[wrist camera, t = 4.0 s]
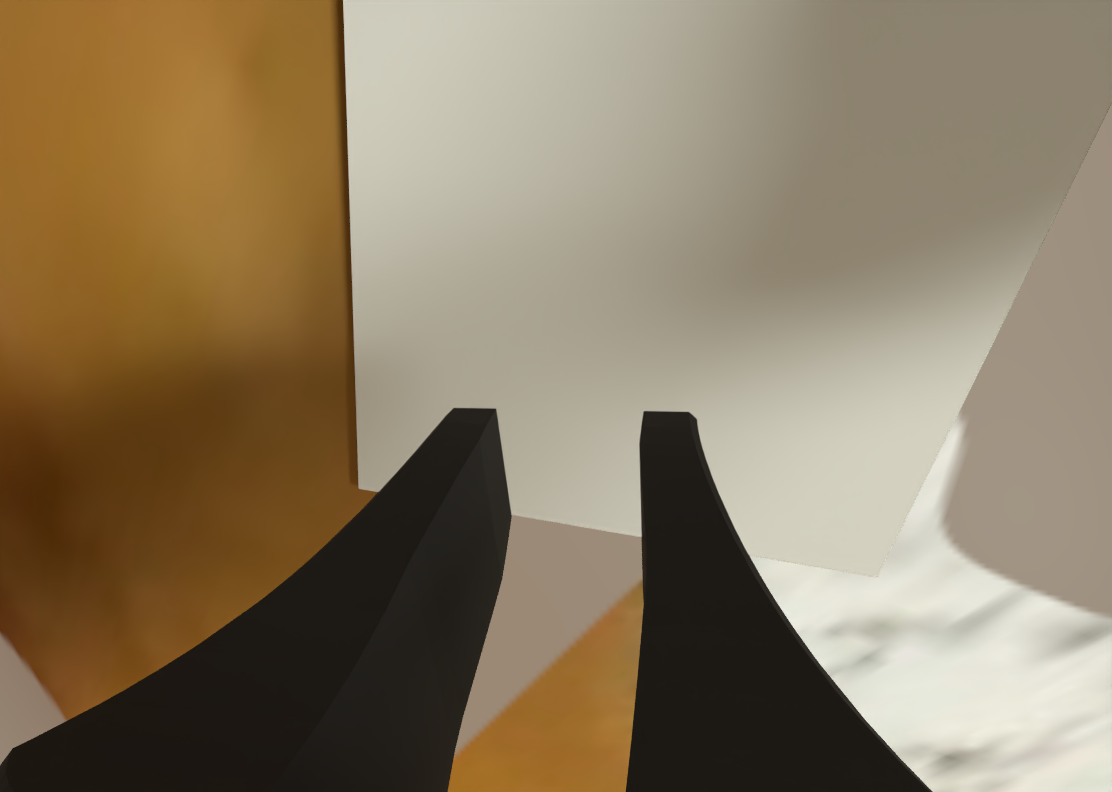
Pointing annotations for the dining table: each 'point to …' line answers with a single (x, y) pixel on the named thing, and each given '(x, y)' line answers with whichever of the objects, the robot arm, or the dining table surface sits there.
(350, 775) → the robot arm
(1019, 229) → the mat
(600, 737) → the dining table surface
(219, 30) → the dining table surface
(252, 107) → the dining table surface
